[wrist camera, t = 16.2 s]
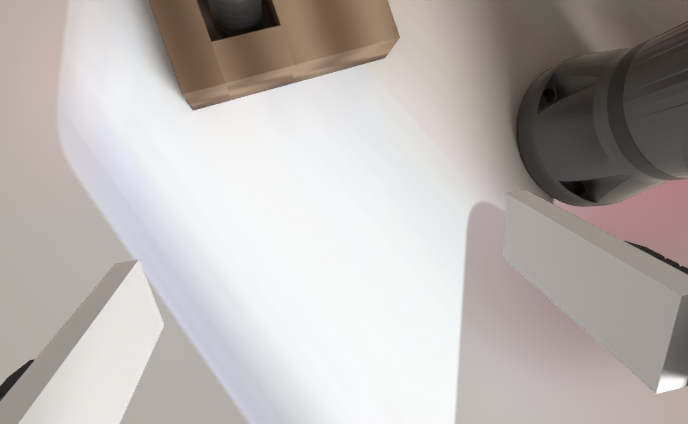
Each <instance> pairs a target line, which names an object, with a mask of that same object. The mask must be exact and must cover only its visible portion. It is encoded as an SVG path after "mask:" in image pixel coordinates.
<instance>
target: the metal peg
mask: <svg viewBox="0 0 688 424" xmlns="http://www.w3.org/2000/svg"><path fill="white" fill-rule="evenodd" d="M208 4H209V7H210V11H211V15H212V19H213V22H214V26H215V28H216V30H217V32H218V33H219V34H220V35H221V36H222V37H223V38H224V39H226V38H230V37H234V36H238V35H242V34H246V33H251V32H255V31H259V30H261V27H262V2H261V0H208Z"/></svg>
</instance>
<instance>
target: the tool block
mask: <svg viewBox="0 0 688 424" xmlns="http://www.w3.org/2000/svg"><path fill="white" fill-rule="evenodd" d="M149 2H150V5H151V8H152V11H153V13H154V16H155V19H156V22H157V25H158V27H159V30H160V33H161V36H162V39H163V41H164V44H165V47H166V50H167V52H168V55H169V58H170V61H171V64H172V66H173V69H174V72H175V75H176V78H177V80H178V83H179V86H180V89H181V91H182V94H183V96H184V97H185V99H186V100H187V102H188V103H189V105H190V106H191V108H192V109H193V110H196V109H200V108H204V107H207V106H211V105H215V104H218V103H222V102H226V101H229V100H233V99H237V98H240V97H244V96H248V95H251V94H255V93H259V92H262V91H266V90H270V89H273V88H277V87H281V86H284V85H288V84H292V83H295V82H299V81H303V80H306V79H310V78H314V77H317V76H321V75H325V74H328V73H332V72H336V71H339V70H343V69H347V68H350V67H354V66H357V65H361V64H365V63H368V62H372V61H376V60H379V59H383V58H385V57H386V56H387V55H388V53H389V52H390V50H391V49H392V48H393V46H394V45H395V43H396V42H397V41H398V39H399V38H400V36H399V33H398V30H397V27H396V24H395V21H394V18H393V15H392V12H391V9H390V6H389V3H388V0H261V2H262V27H261V30H259V31H255V32H251V33H246V34H242V35H238V36H234V37H230V38H226V39H224V38H223V37H222V36H221V35H220V34H219V33H218V32H217V30H216V28H215V26H214V22H213V19H212V15H211V11H210V7H209V4H208V0H149Z"/></svg>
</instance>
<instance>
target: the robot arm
mask: <svg viewBox="0 0 688 424" xmlns="http://www.w3.org/2000/svg"><path fill="white" fill-rule="evenodd" d="M517 134H518V143H519V148H520V152H521V156H522V158H523V161H524V163H525V166H526V168H527V170H528V171H529V173H530V175H531V176H532V178H533V179H534V180H535V182H536V183H537V184H538V185H539V186H540V187H541V188H542V189H543V190H544V191H545V192H546V193H547V194H549V195H550V196H552V197H553V198H555V199H557V200H559V201H561V202H563V203H566V204H569V205H574V206H602V205H610V204H614V203H618V202H620V201H623V200H625V199H628V198H630V197H632V196H635V195H637V194H639V193H642V192H644V191H646V190H649V189H651V188H653V187H656V186H658V185H660V184H662V183H665V182H667V181H672V180H680V179H688V21H687V22H685V23H683V24H681V25H679V26H677V27H675V28H673V29H671V30H669V31H667V32H665V33H663V34H661V35H659V36H656V37H654V38H653V39H650V40H648V41H646V42H644V43H642V44H640V45H638V46H636V47H632V48H625V49H618V50H611V51H605V52H598V53H591V54H584V55H579V56H576V57H573V58H570V59H568V60H565V61H563V62H562V63H560V64H558V65H556V66H554V67H552V68H551V69H549V70H547V71H546V72H544V73H543V74H542V75H540V76H539V77H538V78H537V79H536V80H535V81H534V82H533V84H532V85H531V86H530V88H529V89H528V91H527V93H526V95H525V97H524V99H523V101H522V104H521V107H520V111H519V116H518V125H517ZM503 258H504V259H505V260H506V261H507V262H508V263H509V264H510V265H512V266H513V267H514V268H515V269H516V270H517V271H518V272H519V273H521V274H522V275H523V276H524V277H525V278H526V279H527V280H529V281H530V282H531V283H532V284H533V285H534V286H535V287H536V288H538V289H539V290H540V291H541V292H542V293H543V294H544V295H545V296H547V297H548V298H549V299H550V300H551V301H552V302H553V303H554V304H556V305H557V306H558V307H559V308H560V309H561V310H562V311H564V313H566V314H567V315H568V316H569V317H570V318H571V319H572V320H574V321H575V322H576V323H577V324H578V325H579V326H580V327H581V328H583V329H584V330H585V331H586V332H587V333H588V334H589V335H590V336H592V337H593V338H594V339H595V340H596V341H597V342H598V343H599V344H601V345H602V346H603V347H604V348H605V349H606V350H608V352H610V353H611V354H612V355H613V356H614V357H615V358H616V359H617V360H619V361H620V362H621V363H622V364H623V365H624V366H625V367H626V368H628V369H629V370H630V371H631V372H632V373H633V374H634V375H635V376H637V377H638V378H639V379H640V380H641V381H642V382H643V383H644V384H646V385H647V386H648V387H649V388H650V389H651V390H652V391H654V392H655V393H656V394H657V393H661V392H666V391H670V390H674V389H677V388H682V387H685V386H686V384H687V380H688V268H686V267H684V266H681V267H680V266H679V264H678V263H676V262H674V261H672V260H670V259H668V258H667V259H665V258H664V256H662V255H660V254H658V253H656V252H654V251H652V250H650V249H648V248H647V247H643V246H640V245H637V244H633V243H630V242H627V241H622V240H621V239H618V238H617V237H615V236H613V235H611V234H609V233H607V232H605V231H603V230H601V229H600V228H598V227H596V226H594V225H592V224H590V223H588V222H586V221H584V220H582V219H580V218H579V217H577V216H575V215H573V214H571V213H569V212H567V211H565V210H563V209H561V208H559V207H558V206H556V205H554V204H552V203H550V202H548V201H546V200H544V199H542V198H540V197H538V196H537V195H535V194H533V193H531V192H529V191H527V190H521V191H515V192H510V193H506V201H505V226H504V251H503ZM163 327H164V323H163V320H162V318H161V315H160V312H159V310H158V307H157V305H156V302H155V300H154V297H153V294H152V292H151V289H150V287H149V284H148V282H147V279H146V276H145V274H144V271H143V269H142V266H141V264H140V261H139V260H133V261H128V262H122V263H117V264H115V265H114V266H113V267H112V268H111V270H110V271H109V272H108V273H107V274H106V275H105V277H104V278H103V279H102V280H101V281H100V283H99V284H98V285H97V287H95V289H94V290H93V291H92V292H91V294H90V295H89V296H88V297H87V298H86V300H85V301H84V302H83V303H82V304H81V305H80V307H79V308H78V309H77V310H76V311H75V313H74V314H73V315H72V316H71V317H70V319H69V320H68V321H67V322H66V323H65V325H64V326H63V327H62V328H61V329H60V330H59V332H58V333H57V334H56V335H55V336H54V338H53V339H52V340H51V341H50V342H49V344H48V345H47V346H46V347H45V348H44V350H43V351H42V352H41V353H40V355H39V356H38V357H37V358H36V359H35V360H30V361H28V362H27V363H26V364H25V365H23V366H22V367H21V368H19V369H18V370H17V371H16V372H14V373H13V374H12V375H10V376H9V377H8V378H7V379H6V380H5V381H4V383H3V384H2V385H1V386H0V424H119V423H120V421H121V419H122V417H123V415H124V413H125V410H126V408H127V406H128V404H129V402H130V399H131V397H132V395H133V393H134V391H135V388H136V386H137V384H138V382H139V379H140V377H141V375H142V373H143V371H144V369H145V366H146V364H147V362H148V360H149V358H150V355H151V353H152V351H153V349H154V347H155V344H156V342H157V340H158V338H159V336H160V333H161V331H162V329H163Z"/></svg>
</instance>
